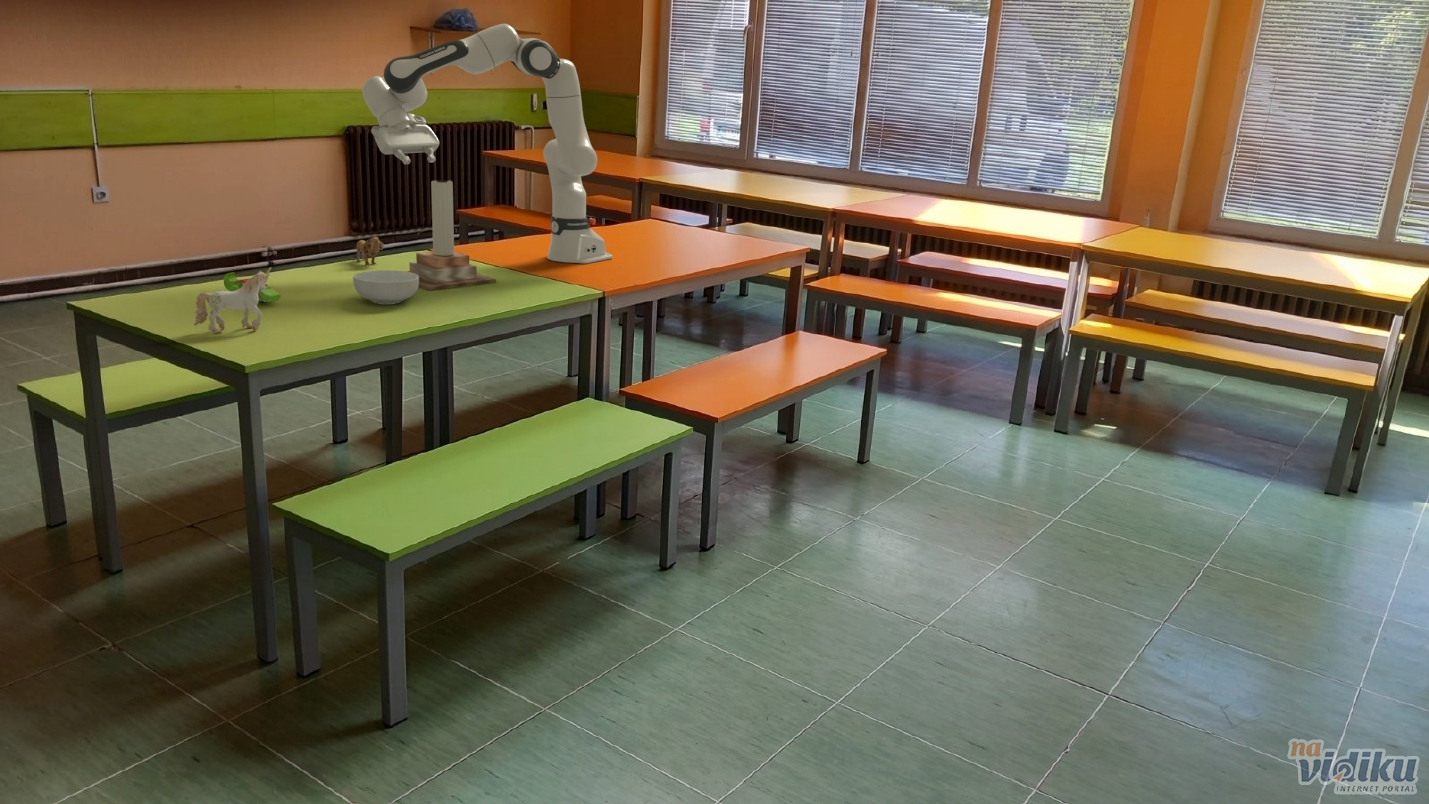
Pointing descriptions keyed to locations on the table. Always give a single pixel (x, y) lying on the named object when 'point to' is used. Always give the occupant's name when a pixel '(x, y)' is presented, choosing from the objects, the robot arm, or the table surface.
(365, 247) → the lion figurine
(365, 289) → the cereal bowl
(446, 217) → the paper towel roll
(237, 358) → the table surface
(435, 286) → the brown square stepped pedestal
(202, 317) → the unicorn figurine
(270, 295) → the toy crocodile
